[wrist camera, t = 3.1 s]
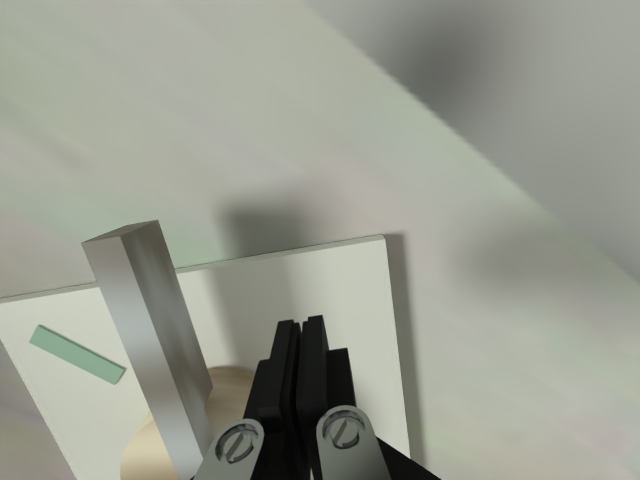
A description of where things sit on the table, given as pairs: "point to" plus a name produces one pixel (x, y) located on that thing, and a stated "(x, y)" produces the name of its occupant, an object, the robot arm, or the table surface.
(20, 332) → the stand plate
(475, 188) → the table surface
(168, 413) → the cam dial
